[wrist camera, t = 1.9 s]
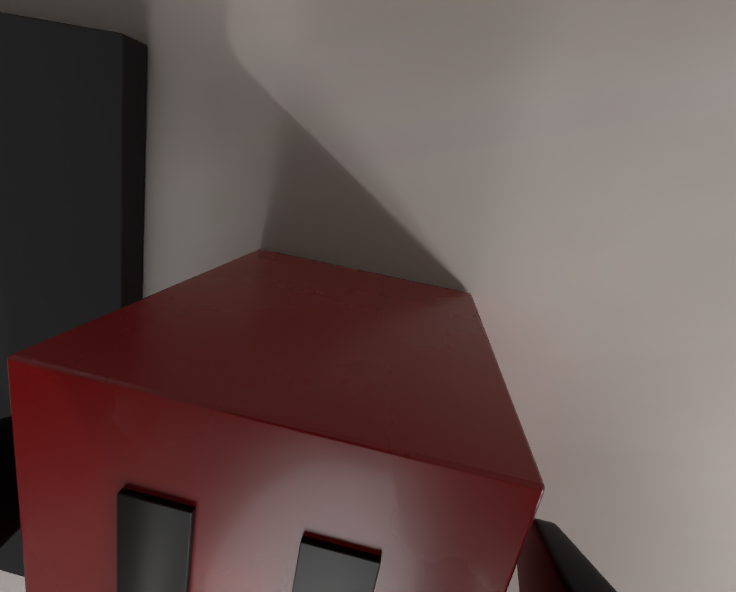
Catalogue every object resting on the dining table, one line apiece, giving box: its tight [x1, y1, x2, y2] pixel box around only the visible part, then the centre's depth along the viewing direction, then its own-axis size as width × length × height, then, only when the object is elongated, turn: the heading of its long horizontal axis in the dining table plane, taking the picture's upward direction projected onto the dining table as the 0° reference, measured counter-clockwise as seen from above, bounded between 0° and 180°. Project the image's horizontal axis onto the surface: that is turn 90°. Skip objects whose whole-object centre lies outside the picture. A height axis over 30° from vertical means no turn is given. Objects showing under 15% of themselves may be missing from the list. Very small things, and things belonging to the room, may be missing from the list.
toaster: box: [7, 249, 545, 592], centre depth 10 cm, size 13×6×8 cm, turn 169°
